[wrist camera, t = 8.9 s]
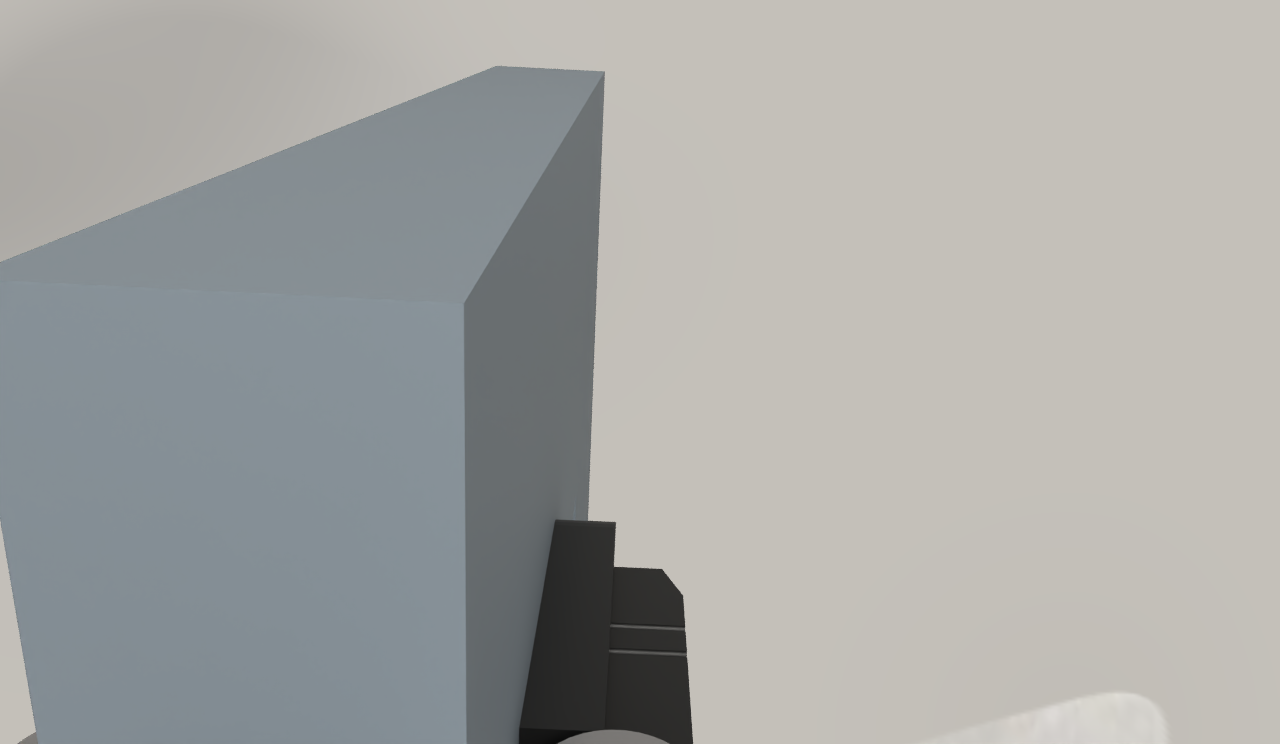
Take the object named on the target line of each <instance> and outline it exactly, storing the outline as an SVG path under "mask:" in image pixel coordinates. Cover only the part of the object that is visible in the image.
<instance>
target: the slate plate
mask: <svg viewBox="0 0 1280 744" xmlns="http://www.w3.org/2000/svg"><path fill="white" fill-rule="evenodd" d="M604 76H605V72H602V71H581V70H563V69H544V68H525V67H506V66H495V67H493V68H490V69H487V70H485V71H482V72H480V73H478V74H475V75H472V76H470V77H467V78H465V79H462V80H460V81H457V82H455V83H452V84H450V85H447V86H445V87H442V88H439V89H437V90H434V91H432V92H429V93H427V94H424V95H422V96H419V97H417V98H414V99H412V100H409V101H407V102H404V103H402V104H399V105H396V106H394V107H391V108H389V109H387V110H384V111H382V112H379V113H376V114H374V115H371V116H369V117H366V118H364V119H361V120H359V121H356V122H354V123H351V124H348V125H346V126H344V127H341V128H338V129H336V130H333V131H331V132H328V133H326V134H323V135H321V136H318V137H316V138H313V139H311V140H308V141H306V142H303V143H301V144H298V145H295V146H293V147H290V148H288V149H285V150H283V151H280V152H278V153H275V154H273V155H270V156H268V157H265V158H263V159H260V160H257V161H255V162H252V163H250V164H248V165H245V166H242V167H240V168H237V169H235V170H232V171H230V172H227V173H225V174H222V175H220V176H217V177H215V178H212V179H209V180H207V181H204V182H202V183H199V184H197V185H194V186H192V187H189V188H187V189H184V190H182V191H179V192H177V193H174V194H172V195H169V196H166V197H164V198H161V199H159V200H156V201H154V202H151V203H149V204H146V205H144V206H141V207H139V208H136V209H134V210H131V211H129V212H126V213H124V214H121V215H118V216H116V217H113V218H111V219H108V220H106V221H103V222H101V223H98V224H96V225H93V226H91V227H88V228H86V229H83V230H81V231H79V232H75V233H73V234H71V235H68V236H66V237H63V238H60V239H58V240H55V241H53V242H50V243H48V244H45V245H43V246H41V247H38V248H35V249H33V250H30V251H27V252H25V253H22V254H20V255H17V256H15V257H12V258H10V259H7V260H5V261H2V262H0V521H1V527H2V533H3V539H4V545H5V551H6V557H7V563H8V568H9V574H10V580H11V586H12V592H13V598H14V604H15V610H16V615H17V622H18V628H19V633H20V639H21V645H22V651H23V657H24V663H25V669H26V675H27V680H28V686H29V692H30V698H31V704H32V710H33V716H34V722H35V728H36V734H37V740H38V744H519V726H520V720H521V714H522V708H523V703H524V697H525V691H526V685H527V679H528V674H529V668H530V662H531V656H532V651H533V645H534V639H535V633H536V627H537V622H538V616H539V610H540V604H541V598H542V593H543V587H544V581H545V575H546V569H547V564H548V558H549V552H550V546H551V540H552V535H553V529H554V523H555V520H556V519H558V520H580V521H588V502H589V473H590V449H591V422H592V396H593V369H594V343H595V315H596V289H597V261H598V236H599V208H600V183H601V182H600V181H601V155H602V127H603V102H604Z"/></svg>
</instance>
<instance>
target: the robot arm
mask: <svg viewBox="0 0 1280 744" xmlns="http://www.w3.org/2000/svg"><path fill="white" fill-rule="evenodd" d="M615 529H616V522H601V521H580V520H558V519H556V520H555V523H554V529H553V535H552V540H551V546H550V552H549V558H548V564H547V569H546V575H545V581H544V587H543V593H542V598H541V604H540V610H539V616H538V622H537V627H536V633H535V639H534V645H533V651H532V656H531V662H530V668H529V674H528V679H527V685H526V691H525V697H524V703H523V708H522V714H521V720H520V726H519V744H693V737H692V722H691V707H690V692H689V677H688V663H687V657H686V656H687V647H686V635H685V634H686V633H685V618H684V603H683V595H682V594H681V593H680V591H679V590H678V589H677V588H676V586H675V585H674V584H673V582H672V581H671V580H670V579H669V577H668V576H667V575H666V574H665V573H664V571H663V570H662V569H649V568H627V567H614V551H615ZM18 744H38V740H37V734H36V732H35V733H34V734H32V735H30V736H28V737H27V738H25V739H24V740H22V741H21V742H19V743H18Z"/></svg>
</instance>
